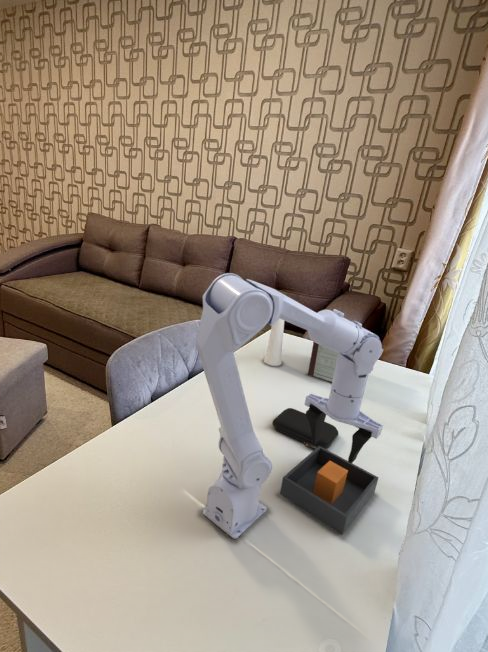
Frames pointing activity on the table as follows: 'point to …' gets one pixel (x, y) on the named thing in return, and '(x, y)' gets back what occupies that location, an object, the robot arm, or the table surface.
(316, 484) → the block
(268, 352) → the cosmetic bottle
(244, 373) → the table surface
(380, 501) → the table surface
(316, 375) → the protein box
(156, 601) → the table surface
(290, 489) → the bin
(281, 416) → the carrying case
